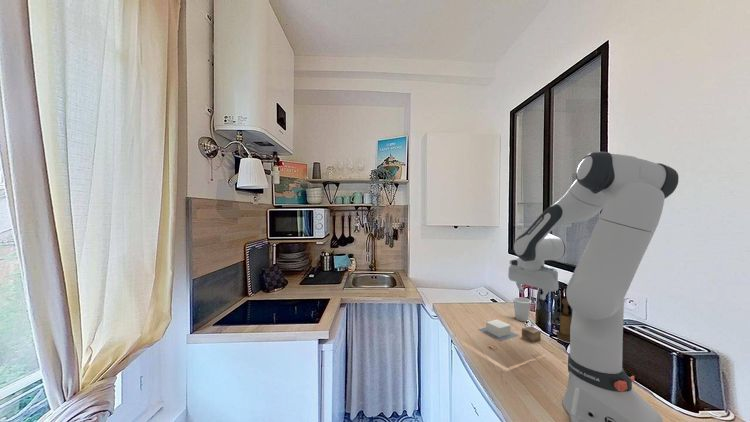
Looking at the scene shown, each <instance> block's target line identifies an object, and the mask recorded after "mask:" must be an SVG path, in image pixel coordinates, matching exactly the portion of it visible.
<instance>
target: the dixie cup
mask: <svg viewBox="0 0 750 422" xmlns="http://www.w3.org/2000/svg"><path fill="white" fill-rule="evenodd" d="M512 302H513V306H514V307H513V308H514V315H515V320H517V321H520V322H528V321H529V317H530V311H531V310H530V309H531V303H532V300H530V299H529V298H527V297H517V296H516V297H513V298H512ZM527 320H528V321H527Z"/></svg>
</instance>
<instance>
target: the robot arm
mask: <svg viewBox="0 0 750 422" xmlns="http://www.w3.org/2000/svg"><path fill="white" fill-rule="evenodd" d="M575 179H576V180H575V181H574V182H573V183H572V185H571V186H570V187H569V188H568V190H567V191H566V193H564V195H563V196H562V197H561V198H559V199H558V200H557V201H556V202H554V203H553V204H551V205H549V206H548V207H547V208H546V209H545V210H544V211H543V212H542V213H540V215H539V216H538V217H537V219H536V220H534V222H533V223H532V224H531V225H529V226H524V227H523V228H522V230H521V234H520V235H519V236H518V237H516V238H515V241H514V243H513V252H514V253H515V255H516V256H517V257H518V258H515V259H510V260H509V267H508V279H509V280H510V281H512V282H515V283H516V287H517V288H518V289H517V290H518V293H520V294H525V289H524V288H523V286H522V285H527V286H530V287H534V288H538V289H541V290H542V294H539V300H542V301H545V300H546V297H547V295H548V293H549V292H556V291H558V290H559V288H560V287H559V279H558V278H559V277H558V276H559V273H558V271H557V269H555V268H554V267H551V266H550V267H549V266H546V265H545V261H556V260H560V259H562V258H563V257H564V256H565V254H566V245H565V243H564V241H563V238H561V237H559V236H556V235H553V234H551V232H552V231H553V230H554V229H556V228H558V227H561V226H565V225H567V224H572V223H573V224H575V223H578V222H584V221H587V220H590V219H592V218H594V217H595V216H596V215H598V214H599V213H600V214H599V216H598V217H597V218H598V219H597V221H596V223H595V226H594V228H593V229H592V233H591V235H590V237H589V240H588V242H587V244H586V247H585V249H584V250H583V253H582V255H581V256H580V258H579V261H578V263H577V264H576V267H575V269H574V271H573V273H572V275H571V277H570V279H569V281H568V284H567V287H566V290H565V291H566V292H565V294H566V298H567V301H568V303H569V307H570V308H571V309H572V314H571V326H570V342H569V353H568V355H567V356H568V357H567V371H568V378H567V379H568V381H567V386H566V390H565V393H564V397H563V399H562V405H563V408H564V410H566V412H567V413H568V415H569V417H570V418H569V419H570V422H664V419H663V418H662V416H661V414H660V413H659V412H658V411H657V410H656V409H655V408H654V407H653V406H652V405H650V403H648V402H647V400H645V399H644V398H643V397H642V396H641V395H640V394H639V393H638V392H637V391H636V389H634V388H633V382H634V381H635V375H632V376H629V375H628V373H626V371H625V370H624V367H623V342H624V341H623V335H624V311H625V307H624V306H625V297H626V295H627V293H628V291H629V289H630V287H631V284H632V282H633V280H634V278H635V275H636V273H637V271H638V269H639V266H640V264H641V261H642V260H643V257H644V256H645V253H646V252H647V250H648V248H649V244H650V242H651V241H652V238H653V237H654V234H655V233H656V230H657V228H658V225H659V223H660V219H661V216H662V213H663V209H664V205H665V199H667V198H668V197H670V196H671V195H672V194H673V193H674V192H675V191H676V189H677V187H678V185H679V173H678V172H677V171H676V169H674V168H673V167H671V166H669V165H667V164H665V163H659V162H653V161H649V160H647V159H643V158H640V157H639V158H638V157H637V156H632V155H627V154H618V153H610V152H608V151H593V152H590V153H589V154H587V155H586V156H584V157H583V158H582V159H581V160H580V163H579V164H578V165H577V168H576V171H575Z"/></svg>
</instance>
